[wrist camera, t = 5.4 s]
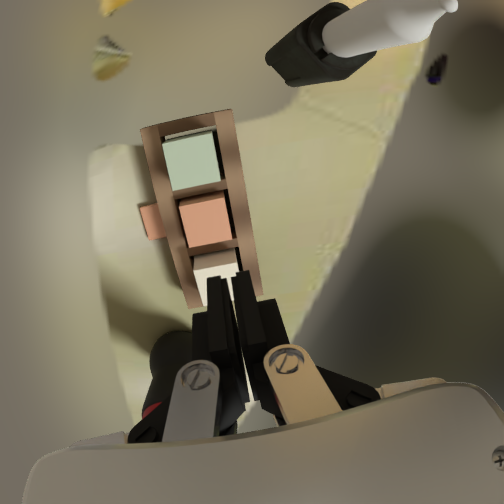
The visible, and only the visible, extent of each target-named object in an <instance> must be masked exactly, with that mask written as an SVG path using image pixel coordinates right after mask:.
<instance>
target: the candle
mask: <svg viewBox="0 0 504 504" xmlns="http://www.w3.org/2000/svg"><path fill="white" fill-rule="evenodd" d="M457 8H458V2H457V0H367V1H365V2H363V3H361V4H359V5H357V6H356V7H354V8H352V9H349V8H348V7H347V6H346V5H344V4H342V3H339V2H332V3H329V4H327V5H326V6H324V7H323V8H321V9H320V10H318V11H317V12H315V13H314V14H313V15H311V16H310V17H308V18H307V19H306V20H304V21H303V22H301V23H300V24H299V25H298V26H296V27H295V28H294V29H293V30H292V31H290V32H289V33H288V34H287V35H286V36H285V37H283V38H282V39H281V40H280V41H279V42H278V43H277V44H276V45H274V46H273V47H272V48H271V49H270V50H269V51H268V52H267V53H266V56H265V60H266V63H267V64H268V65H269V66H272V67H273V68H274V69H275V70H276V71H277V72H278V73H279V74H280V75H281V77H282V78H283V79H284V80H285V83H286V84H287V85H288V86H291V87H299V86H305V85H311V84H318V83H325V82H332V81H340V80H344V79H346V78H348V77H349V76H350V75H352V74H353V73H354V72H355V71H357V70H358V69H359V68H360V67H362V66H363V65H364V64H365V63H367V62H368V61H369V60H370V59H372V58H373V57H374V56H375V54H376V52H377V50H381V49H385V48H390V47H395V46H400V45H405V44H411V43H416V42H420V41H422V40H424V39H426V38H427V37H428V36H429V35H430V33H431V30H432V28H433V24H434V22H435V21H436V20H437V19H438V18H440V16H442V15H443V14H444V13H445V12H446V11H448V12H455V11H456V10H457Z"/></svg>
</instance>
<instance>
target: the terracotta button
mask: <svg viewBox="0 0 504 504" xmlns="http://www.w3.org/2000/svg"><path fill="white" fill-rule="evenodd" d="M179 209H180V214H181V218H182V222H183V226H184V229H185V233H186V237H187V241H188V245H189V248H191V247H196V246H201V245H206V244H211V243H216V242H222V241H227V240H232V234H231V228H230V222H229V217H228V212H227V207H226V202H225V197H224V191H223V190H218V191H213V192H208V193H203V194H198V195H193V196H189V197H184V198H181V201H180V205H179Z"/></svg>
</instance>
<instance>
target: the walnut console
mask: <svg viewBox="0 0 504 504" xmlns="http://www.w3.org/2000/svg"><path fill="white" fill-rule="evenodd" d="M213 125H216V128H217V134H218V139H219V145H220V150H221V156H222V161H223V166H224V172H225V173H221V174H220V179H221V181H219V182H214V183H209V184H204V185H199V186H194V187H189V188H185V189H180V190H175V191H173V190H172V186H171V182H170V177H169V173H168V169H167V164H166V160H165V155H164V151H163V146H162V144H163V143H164V142H165V136H167V135H171V134H175V133H179V132H184V131H189V130H193V129H198V128H203V127H208V126H213ZM140 132H141V136H142V141H143V145H144V150H145V154H146V158H147V163H148V167H149V171H150V175H151V179H152V183H153V187H154V191H155V195H156V199H157V203H158V207H159V211H160V214H161V218H162V222H163V225H164V229H165V233H166V236H167V240H168V243H169V247H170V250H171V254H172V257H173V260H174V264H175V267H176V270H177V274H178V277H179V280H180V283H181V287H182V290H183V293H184V296H185V299H186V302H187V306H188V309H191V308H197V307H202V306H203V303H202V300H201V296H200V293H199V289H198V286H197V282H196V279H195V275H194V271H193V269H194V258H193V255H198V254H203V253H208V252H213V251H218V250H224V249H229V248H234V247H239V251H240V256H241V261H242V266H243V271H245V270H249V271H250V276H251V280H252V284H253V288H254V292H255V296H260V295H263V289H262V283H261V277H260V271H259V265H258V259H257V253H256V248H255V242H254V236H253V230H252V224H251V218H250V212H249V206H248V200H247V194H246V188H245V182H244V176H243V170H242V165H241V159H240V153H239V147H238V141H237V135H236V129H235V124H234V118H233V113H232V109H227V110H222V111H216V112H211V113H206V114H201V115H196V116H191V117H186V118H182V119H177V120H173V121H169V122H165V123H160V124H156V125H152V126H149V127H145V128H142V129H140ZM223 189H228V193H229V198H230V204H231V209H232V214H233V220H234V225H235V228H231V234H232V240H227V241H222V242H216V243H211V244H206V245H201V246H196V247H191V248H189V245H188V241H187V237H186V233H185V229H184V226H183V222H182V218H181V214H180V209H179V205H180V202H179V198H184V197H189V196H193V195H198V194H203V193H208V192H213V191H218V190H223Z"/></svg>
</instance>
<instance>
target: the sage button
mask: <svg viewBox="0 0 504 504" xmlns="http://www.w3.org/2000/svg"><path fill="white" fill-rule="evenodd" d="M162 146H163V151H164V155H165V160H166V164H167V169H168V173H169V177H170V182H171V186H172V190H173V191H175V190H180V189H185V188H189V187H194V186H199V185H204V184H209V183H214V182H219V181H221V179H220V171H219V166H218V161H217V156H216V150H215V145H214V139H213V134H212V130H208V131H203V132H198V133H194V134H189V135H184V136H180V137H175V138H171V139H168V140H166V141H165V142H164V143H163V144H162Z"/></svg>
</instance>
